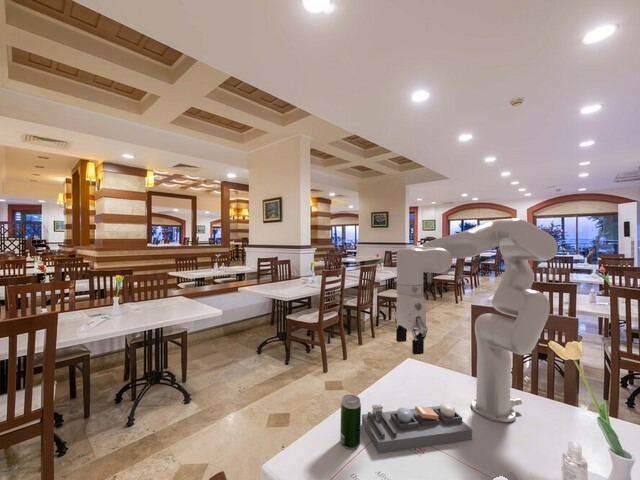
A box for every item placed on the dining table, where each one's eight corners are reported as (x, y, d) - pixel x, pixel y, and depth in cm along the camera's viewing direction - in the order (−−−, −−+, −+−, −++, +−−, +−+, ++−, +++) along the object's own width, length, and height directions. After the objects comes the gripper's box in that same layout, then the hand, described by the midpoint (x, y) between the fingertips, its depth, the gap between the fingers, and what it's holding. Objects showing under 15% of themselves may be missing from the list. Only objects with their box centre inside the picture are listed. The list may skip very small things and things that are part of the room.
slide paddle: (379, 415, 86) (380, 403, 86) (383, 420, 84) (383, 408, 84) (371, 416, 86) (371, 404, 86) (374, 421, 83) (374, 409, 83)
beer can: (348, 453, 75) (349, 407, 75) (336, 441, 79) (337, 397, 79) (364, 445, 78) (365, 401, 78) (351, 434, 82) (352, 392, 82)
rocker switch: (429, 411, 87) (430, 407, 87) (438, 419, 83) (438, 415, 83) (414, 409, 86) (415, 405, 86) (422, 417, 82) (422, 413, 82)
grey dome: (407, 413, 86) (407, 407, 86) (414, 422, 82) (414, 415, 82) (394, 415, 85) (394, 408, 85) (401, 423, 81) (401, 416, 81)
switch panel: (444, 414, 93) (445, 400, 93) (471, 440, 81) (472, 424, 81) (361, 424, 87) (362, 409, 87) (378, 453, 75) (378, 436, 75)
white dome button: (449, 408, 89) (449, 402, 89) (457, 416, 85) (458, 410, 85) (437, 410, 88) (437, 403, 88) (445, 418, 84) (445, 411, 84)
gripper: (438, 295, 78) (438, 358, 78) (406, 284, 95) (406, 336, 95) (413, 296, 77) (412, 360, 77) (385, 285, 94) (385, 338, 94)
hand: (409, 347), depth 86 cm, fingers open, 9 cm apart
